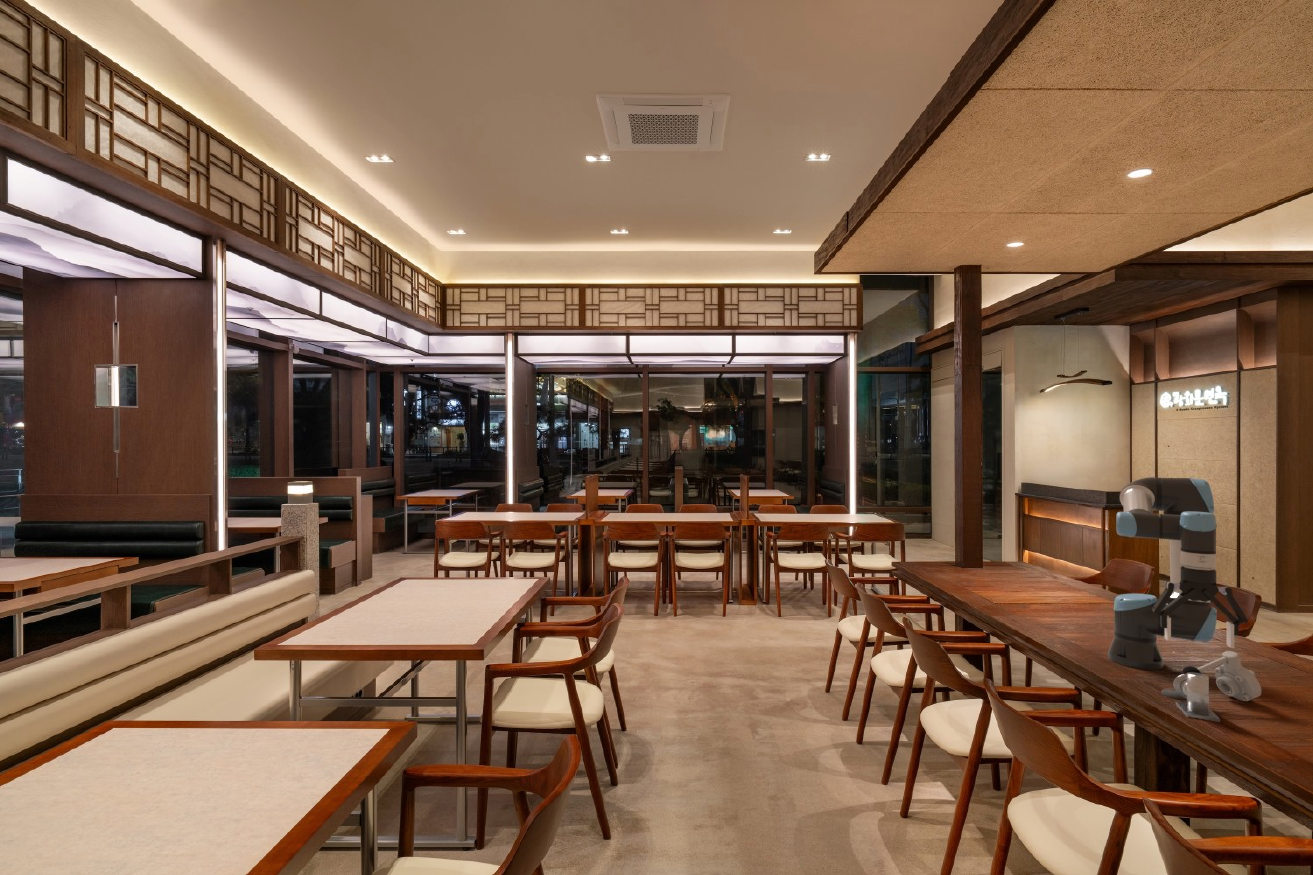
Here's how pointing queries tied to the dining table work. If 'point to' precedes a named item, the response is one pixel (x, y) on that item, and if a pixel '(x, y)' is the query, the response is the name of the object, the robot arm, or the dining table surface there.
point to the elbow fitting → (1194, 696)
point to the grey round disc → (1172, 694)
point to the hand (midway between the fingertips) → (1198, 643)
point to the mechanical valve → (1231, 677)
